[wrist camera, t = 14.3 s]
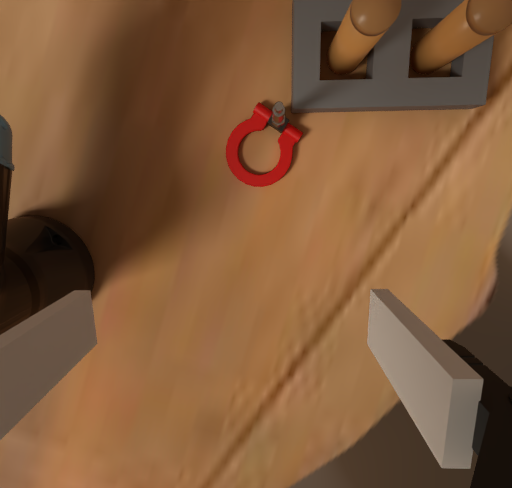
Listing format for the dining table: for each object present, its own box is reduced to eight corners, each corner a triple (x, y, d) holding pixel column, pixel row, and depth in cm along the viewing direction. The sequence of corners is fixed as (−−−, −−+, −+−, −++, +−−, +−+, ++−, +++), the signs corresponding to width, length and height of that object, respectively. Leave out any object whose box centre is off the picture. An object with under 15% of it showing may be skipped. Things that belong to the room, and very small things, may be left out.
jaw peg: (323, 71, 39) (347, 26, 27) (330, 35, 38) (359, -28, 26) (355, 77, 39) (394, 35, 27) (363, 41, 38) (407, -18, 26)
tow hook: (268, 198, 43) (309, 137, 41) (265, 213, 30) (324, 125, 28) (215, 162, 42) (253, 98, 40) (189, 162, 30) (243, 69, 27)
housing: (291, 112, 40) (293, 108, 37) (292, 3, 37) (294, -9, 35) (471, 108, 39) (485, 104, 37) (484, -3, 37) (500, -16, 34)
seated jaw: (408, 75, 39) (470, 31, 27) (411, 38, 38) (476, -24, 26) (441, 74, 38) (518, 29, 27) (445, 37, 38) (526, -26, 26)
